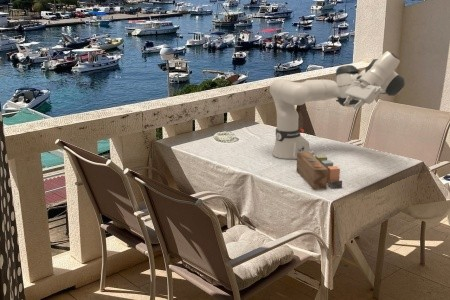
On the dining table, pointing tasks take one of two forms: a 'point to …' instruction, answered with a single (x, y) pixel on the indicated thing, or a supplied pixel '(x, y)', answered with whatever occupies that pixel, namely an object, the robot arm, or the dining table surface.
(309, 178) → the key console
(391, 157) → the dining table surface
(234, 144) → the dining table surface
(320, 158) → the olive key
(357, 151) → the dining table surface
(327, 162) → the slate key
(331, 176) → the terracotta key
